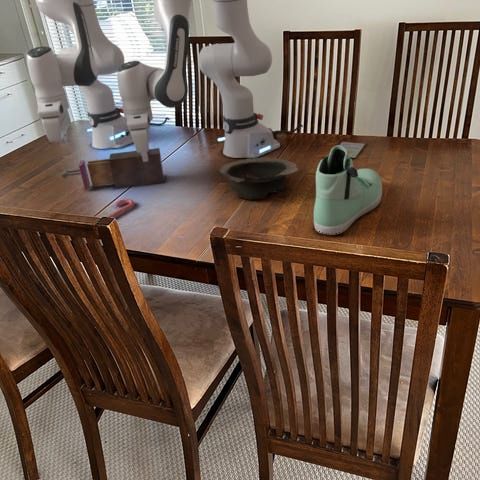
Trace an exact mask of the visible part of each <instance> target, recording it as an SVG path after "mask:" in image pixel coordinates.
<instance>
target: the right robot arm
mask: <svg viewBox="0 0 480 480" xmlns="http://www.w3.org/2000/svg"><path fill="white" fill-rule="evenodd" d="M212 3H213V4H212V5H213V14H214V22H215V25H216V27H217V28H218V29H219V30H220V32H223V33H225V34H227V35H229V36H230V37H231V38H232V40H233V41H234V42H231V43H230V42H227V43H214V44H210V45H207V46H204V47H202V48H201V49H200V51H199V54H198V57H197V58H198V59H197V63H198V67H199V69H200V71H201V73H202V74H203V75H204V76H206V77H207V78H208V79H210V80H211V81H212V82H213V84H215V86H216V88H217V89H218V91H219V94H220V98H221V102H222V103H221V104H222V110H223V111H222V112H223V116H222V122H223V123H222V124H223V130H224V136H223V137H218V138H217V141H218V142H222V141H224V144H223V149H222V154H223V155H224V156H226V157H229V158H232V159H233V158H234V159H254V158H260V157H261V156H263V155H265V154H268V153H270V152H272V151H275V150H277V149H279V148H281V144H280V142H279V141H278V140H276V139H275V138H276V136H275V134H277V133H282V134H291V133H292V134H293V133H295V132H296V131H298V130H299V128H304V126H303V124H301V123H299V124H298V125H297V126H296V127H295V128H294V129H292V130H272V128H271V127H267V126H266V125H264V124H262V123H261V122H260V121H262V120H263V119H264V114H261V113H256V112H254V95H253V93H252V91H251V90H250V89H249V88H248V87H247V86H245V85H242V84H241V83H239V82H238V81H237V79H236V77H237V78H238V77H239V78H240V77H256V76H259V75H264V74H267V73H268V72H269V70H270V68H271V67H272V63H273V54H272V51H271V48H270V47H269V46H268V45H267V44H266V43H264V42H263V41H262V40H261V39H260V38H259V37H258V36H257V35H256V34H255V33H256V32H254V30H253V28H252V25H251V22H250V16H249V8H248V0H212ZM191 7H192V0H153V15H154V17H155V19H156V21H157V23H158V24H159V25H160V27H161V28H162V31H163V32H164V34H165V37H166V49H165V50H166V51H165V63H164V68H161V67H155V66H150V65H148V64H145V63H142V62H141V61H140V60H131V61H127V62H124V64H123V65H121V66H120V67H119V68H118V71H117V74H116V76H117V77H116V79H117V87H118V91H119V96H120V99H121V100H122V108H123V112H124V113H123V117H125V121H126V123H127V126H128V129H129V130H131V135H132V138H133V144H134V145H133V146H134V148H135V151H137V153H141V156H142V159H143V162H147V161H148V155H147V152H148V149H150V147H149V144H150V143H149V141H150V126H151V125H150V123H152V122H151V121H153V119H154V117H153V116H154V115H153V110H152V105H151V102H152V101H156V102H159V103H160V104H161V105H163V106H164V107H166V108H168V109H173V108H177V107H179V106H180V105H182V104H183V103H184V102H185V100H186V99H187V97H188V93H189V85H188V80H187V62H188V54H189V52H188V51H189V40H190V12H191Z"/></svg>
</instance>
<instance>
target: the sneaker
mask: <svg viewBox="0 0 480 480" xmlns="http://www.w3.org/2000/svg"><path fill="white" fill-rule="evenodd" d="M317 165H318V166H317V168H316V172H315V201H314V207H313V225H314V229H315V231H316V232H318V233H320V234H323V235H326V236H327V235H328V236H336V235H339V234H342V233H344V232H345V231H347V230H348V229H349V228H350V227H351V226H352V225H353V224H354V222H356V221H357V220H358V219H359V218H360V217H362V216H363V215H365V214H367V213H370V212H372V210H374V209H375V208H377V207H378V205H380V203H381V200H382V196H383V184H382V183H383V182H382V179H381V176H380V175H379V173H378V172H377V171H376V170H374V169H372V168H367V167H365V168H358V169H357V168H355V167H354V161H353V159H352V158H351V157H350V156H349V153H348V152H347V150H346V149H345V148H344V147H342V146H339V145H334V146H333V147H331V149H330V151H329V154H327V155H326V156H325V157H324V158H322V159H321V160H320V161H319V163H318V164H317ZM343 230H344V231H343ZM319 231H320V232H319ZM322 232H323V233H322ZM339 232H340V233H339ZM326 233H327V234H326ZM328 233H329V234H328ZM335 233H337V234H335Z"/></svg>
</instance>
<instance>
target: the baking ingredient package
mask: <svg viewBox="0 0 480 480" xmlns="http://www.w3.org/2000/svg"><path fill="white" fill-rule="evenodd" d="M338 146H342V147H344V148H345V149H346V150H347V152H348V153H349V156H350V158H356V157H357V156H358V155H359V153H360V152H361V151H362V149H363V148H364V147H365V146H366V143H359V142H348V141H342V142H340V144H339V145H338Z"/></svg>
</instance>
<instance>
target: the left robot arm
mask: <svg viewBox="0 0 480 480" xmlns="http://www.w3.org/2000/svg"><path fill="white" fill-rule="evenodd" d="M34 1H35V5H36V6H37V8H38V10H39V11H40V12H41V13H42V14H43V15H45V17H47V18H48V19H51V20H53V21H56V22H58V23H62V24H64V25H67V28H68V29H69V31H70V32H71V33H72V34H73V37H74V42H75V45H71V46H68V47H64V48H62V49H60V50H59V52H58V53H54V52H55V51H54V50H53V49H52V48H51V47H50V46H37V47H34V48H30V49H29V50H28V51H27V52H26V65H27V70H28V75H29V78H30V81H31V85H33V87H34V91H35V92H34V93H35V94H34V95H35V99H36V104H37V116H38V118H39V119H41V122H42V126H43V129H44V132H45V136H47V139H48V141H49V142H50V143H52V144H53V143H59V145H60V148H61V149H66V148H67V147H68V145H69V142H68V134H67V131H68V130H69V127H70V125H71V118H70V114H69V110H68V109H70V104H69V101H68V100H69V99H68V95H67V92H66V90H65V87H77V86H78V87H79V89H80V90H81V92H82V95H83V98H84V101H85V104H86V109H87V118H88V122H89V125H90V127H91V128H89V129H87V132H91V137H92V138H91V140H92V141H91V147H92V148H94V149H98V150H107V149H121V148H122V149H123V148H124V147H127V146H128V145H131V144H132V143H133V144H134V142H133V138H132V135H131V130H129V129H128V126H127V123H126V121H125V116H124V115H122V114H124V112H123V107H117V106H116V103H115V97H114V94H113V90H112V88H111V87H110V86H109V85H107V84H105V83H103V82H101V81H100V80H99V79H98V78H99V76H105V75H113V74H116V73H117V71H118V68H119V67H120V66H121V65H123V64H124V63H125V54H124V53H123V51H122V50H121V47H119V46H118V45H116V44H115V43H113V42H112V41H111V40H110V39H109V38H108V37H107V36H106V35H105V33H104V31H103V29H102V27H101V25H100V22H99V19H98V15H97V11H96V7H95V1H94V0H34ZM167 120H169V121H170V120H171V119H170V118H169V117H165V119H164V121H163V122H159V123H155V122H150V125H149V126H151V125H153V126H163V125H165V124H166V123H167Z"/></svg>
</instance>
